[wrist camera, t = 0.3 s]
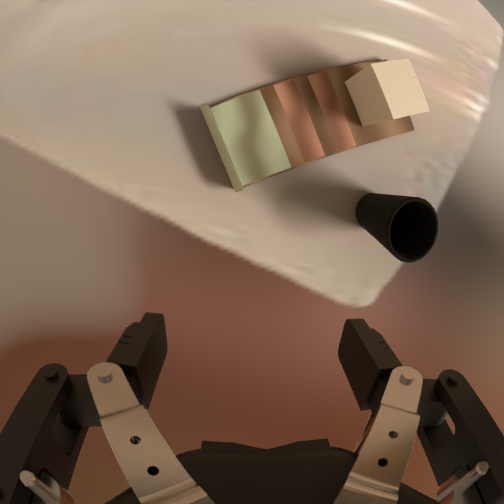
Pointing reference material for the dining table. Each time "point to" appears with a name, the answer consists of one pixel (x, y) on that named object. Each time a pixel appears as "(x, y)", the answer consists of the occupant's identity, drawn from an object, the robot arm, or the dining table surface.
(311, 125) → the track
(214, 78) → the dining table surface
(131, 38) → the dining table surface
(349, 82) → the block
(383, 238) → the cup
